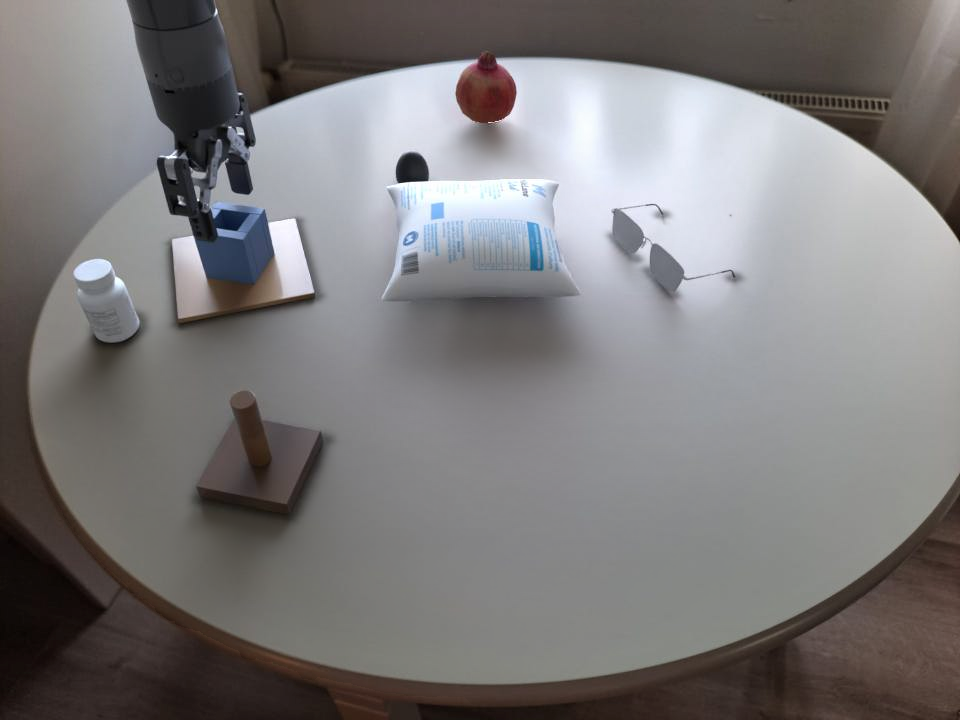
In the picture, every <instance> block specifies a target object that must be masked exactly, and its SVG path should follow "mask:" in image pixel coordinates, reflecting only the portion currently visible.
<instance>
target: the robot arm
mask: <svg viewBox="0 0 960 720" xmlns="http://www.w3.org/2000/svg"><path fill="white" fill-rule="evenodd" d="M125 1H126V5H127V7H128V11H129V15H130V17H131V22H132V27H133V33H134V39H135V45H136V49H137V53H138V57H139V59H140V63H141V66H142V69H143V73H144V76H145V80H146V83H147V86H148V87H147V88H148V91H149V93H150V97H151V101H152V104H153V107H154V111H155V114H156V117H157V119H158V120H159V122H161V123H162V125H164V126H166V127H167V128H168V129H169V130H170V131H171V133H172V134H173V142H174V144H173V145H174V151H173V152H172V153H171V154H170V155H169V156H167V155H159V156H158V157H157V158H156V167H157V171H158V175H159V178H160V182H161V186H162V189H163V195H164V197H165V201H166V204H167V208H168V212H169V214H170V215H172V216H180V217H184V218H185V217H186V218H187V219H188V221H189V225H190V228H191V231H192V232H193V233H192V236H193V235H194V237H195V238H196V239H197V240H200V241H206V242H215V240H216V239H217V238H218V233H217V229H216V225H215V221H214V218H213V214H212V210H211V208H212V207H210V205H211V193H212V190H213V189H215V188H216V187H217V181H218V170H219V169H220V167H221V165H222V163H224V165H225V170H226V173H227V177H228V182H229V186H230V190H231V191H232V193H234V194H237V195H238V194H239V195H245V196H249V195H251V193H252V192H253V191H254V186H253V182H252V177H251V172H250V167H249V161H250V158H251V152H250V150H249V149H250V148H254V147H255V146H256V144H257V143H256V142H257V138H256V134H255V130H254V126H253V122H252V117H251V113H250V110H249V105H248V101H247V97H246V94H245V93H241V92H238V89H237V84H236V78H235V75H234V74H235V73H234V70H233V65H232V60H231V56H230V51H229V47H228V42H227V37H226V33H225V30H224V27H223V24H222V22H221V19H220V15H219V12H218V9H217V5H216V0H125ZM237 128H240V129H242V131H243V133H240V132H238V130H237ZM194 172H197V173H204V174H205V177H203V178H199V177H192V174H193V173H194ZM195 187H198V188H199V198H198V197H197V193H196V190H195Z"/></svg>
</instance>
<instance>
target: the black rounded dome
mask: <svg viewBox="0 0 960 720" xmlns="http://www.w3.org/2000/svg"><path fill="white" fill-rule="evenodd" d="M395 179H396V182H397V184H400V183H409V182H429V179H430V169H429V166H428V163H427V161H426V159H425V158H424V156H423V155H422V153H419V152H418V151H416V150H414V149H410V150H406V151H405V152H403V153H402V154H401V155H400V157H399V158H398V160H397V163H396V165H395Z"/></svg>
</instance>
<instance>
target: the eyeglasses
mask: <svg viewBox="0 0 960 720" xmlns="http://www.w3.org/2000/svg"><path fill="white" fill-rule="evenodd" d="M650 206H655V207H656V208H657V209H658V211H659V212H660V214H661V216H663V215H664V212H663V211H662V209H661V208H660V207H659V205H658V204H656V203H648V204H647V203H646V204H641V205H632V206H624V207H623V206H622V207H615V208H611V209H610V212H611V213H612V214H613V216H612V226H611V227H612V228H611V230H612V236H613V238H614V240H615V241H616V242H617V244H619V245H620V246H621V247H622V248H623V249H624V250H626V251H627V252H629V253H630V254H635V253H637V252H638V251H639V249H643V248H644V247H645V245H646V244H647V241H648V242H650V245H651V246H650V250H649V251H650V253H649V269H650V272H651V274H652V276H653V277H654V278H655V280H656V281H657V282H658V283H659V284H660V285H661V286H662V287H663V288H664V289H665V290H667V291H668V292H676V291H677V290H678V288H679V287H680V286H681V284H682V281H683V280H684V281H691V280H695V279H700V278H705V277H708V276H709V277H710V276H714V275H718V274H724V273H728V272H731V275H732V278H733V279H735V278H736V277H737V276H736V275H735V272H734V271H733V270H732V269H727V270H726V269H725V270H722V271H717V272H712V273H707V274H701V275H696V276H695V275H694V276H690V277H687V276H685V269H684V267H683V266H682V265H681V264H680V262H679V261H678V260H677V259H676V258H675V257H674V256H673V255H672V254H671V253H670V251H668V250H666V249H665V247H663V246H662V245H661V244H659V243H657V242H654V243H653V242H652V240H651V239H650V238H648V237H647V236H645V234H644V230H643V229H642V228H641V226H640V225H639V224H638V223H637V222H636V221H635V220H634V219H632V218H633V217H630V215H628V214H627V213H626V212H625V211H623V210H627V209H634V208H640V207H650Z"/></svg>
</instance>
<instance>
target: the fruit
mask: <svg viewBox="0 0 960 720" xmlns="http://www.w3.org/2000/svg"><path fill="white" fill-rule="evenodd" d="M478 55H479V56H478V57H477V61H475V62H472V63H470V64H469V65H468V66H466V68H464V69H463V71H462V72H461V74H460V75H459V78H458V81H457V84H456V86H455V99H456V103H457V105H458V106H459V109H460V111H461V113H462V114H463V115H464V116H465V117H467V118H468V119H470V120H471V121H472V122H473V121H475V122H474V123H477V122H479V123H478V124H483V125H492V124H493V123H488V122H495V121H499V120H501V121H503V120H504V119H506V118H507V117H508V116H510V115H511V114H512V111H513V109H514V107H515V104H516V99H517V94H518V91H517V84H516V82H515V80H514V78H513V76H512V75H511V74H510V72H509V71H508V69H506V68H505V67H504V66H503V65H501V64H500V63H498V61H497V58H496V56H495V54H494V53H493V52H489V51H488V50H483V51H482V52H481V53H480V54H478ZM505 117H506V118H505ZM502 119H503V120H502ZM499 122H500V121H499ZM496 123H498V122H495V123H494V124H496Z"/></svg>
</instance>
